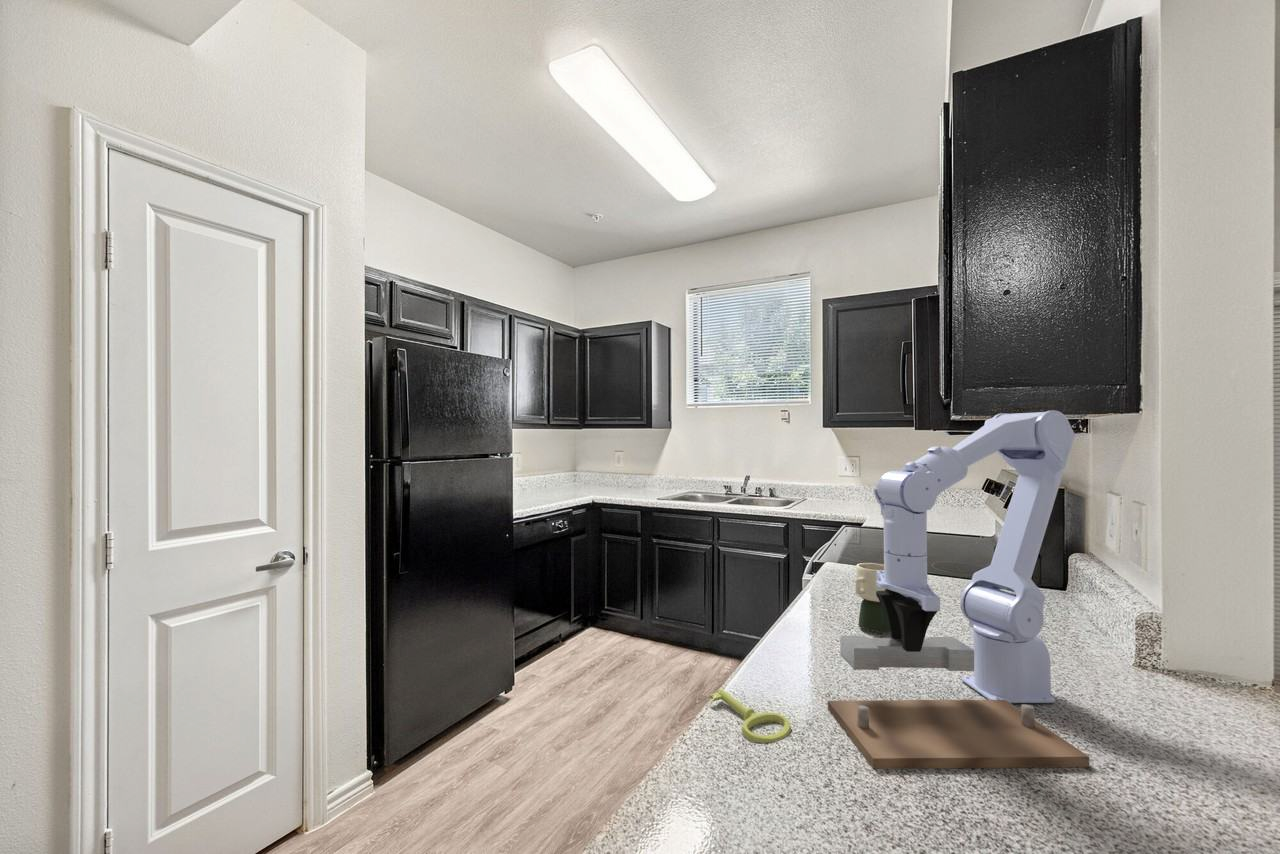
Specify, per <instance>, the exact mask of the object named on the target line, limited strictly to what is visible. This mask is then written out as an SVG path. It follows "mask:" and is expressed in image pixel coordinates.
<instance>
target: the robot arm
mask: <svg viewBox="0 0 1280 854" xmlns="http://www.w3.org/2000/svg"><path fill="white" fill-rule="evenodd" d="M1075 436H1076V435H1075V432H1074V431H1073V428H1072V426H1071V423H1070V422H1069V419H1068V418H1067V416H1066V415H1065V414H1063V413H1062V412H1061V411H1059V410H1047V411H1038V412H1022V413H1021V412H1019V413H1016V412H1015V413H1005V412H1003V413H1002V412H1001V413H998V414H995V415H994V416H993V417H991V418H988V419H985V421H984V425H982V426H981V427H980V428H979V429H977V430H976V431H975V432H972V434H970V435H969V436H967V437H966V438H965V439H963V440H962V441H960V442H959V443H957V444H955V445H954V446H952V447H949V446H944V445H943V446H937V445H936V446H935V445H934V446H930V448H928V449H927V453H926V454H925V455H923V456H922V457H919V458H918V459H916V460H915V461H908V462H907V463H905V464H904V467H903V468H902V469H901V470H890V471H888V472H885V473H884V474H883V475H882V476H881V477H880V479H878V482H877V483H876V487H875V488H874V489H873V492H874V493H873V494H874V497H875V498H874V499H875V500H876V501H877V503H878V504H879V506H880V515H881V516H882V518H883V565H884V571H877V581H876V585H877V586H878V587H880V588H882V589H885V591H876V596H877V597H878V599H879V601H880V603H881V605H882V607H883V610H884V613H885V616H886V619H887V623H888V627H889V632H888V633H889V634H890V638H893V639H902V642H903V646H904V650H905V651H907V652H921V649H922V645H923V642H924V639H926V638H925V637H926V634H927V630H928V628H929V626H930V623H932V621H933V618H934V617H935V616H936V614H938V612H941V597H940V596H939V595H938V594H936V593H935V592H934V590H933V589H932V588H931V586H930V585H929V584H928V544H927V543H928V534H927V533H928V532H927V531H928V530H927V529H928V527H927V523H928V522H927V520H928V519H927V516H928V515H927V511H929V510H930V511H931V509H932V508H933V507H934V505H935V504H936V501H937V500H938V499H937V498H938V496H940V495H941V494H942V493H943V492H945V491H946V490H948V489H949V488H951V487H953V486H954V485H955V484H957V483H958V482H961V481H962V480H964V479H965V478H966V477H967V475H968V469H969V468H968V467H970V466H972V465H973V464H975V463H977V462H979V461H981V460H983V459H985V458H987V457H990V456H991V455H992V454H994V453H998V454H999V455H1000V456H1001V457H1002V459H1003V460H1004V461H1005V462H1006V463H1007V465H1008V466H1009V467H1011V468H1013V469H1015V471H1016V472H1017V474H1018V475H1017V476H1018V477H1017V479H1016V482H1015V486H1014V490H1013V493H1012V495H1011V498H1010V502H1009V505H1008V509H1007V511H1006V514H1005V518H1004V521H1003V524H1002V528H1001V530H1000V534H999V537H998V539H997V543H996V546H995V550H994V553H993V555H992V560H991V563H990V564H989V565H988V566H986V567H984V568H982V569H980V570H978V571H975V572H974V573H973V574H972V577H971V581H970V582H969V584H968V585H967V586H966V587H965V588H964V590H963V591H962V594H961V596H960V610H961V613H962V615H963V616H964V617H965V618H966V619H967V620H969V621H968V626H969V627H970V628H972V635H973V637H972V638H973V640H972V642H973V643H972V645H973V646H972V647H973V648H972V649H974V671H973V676H961V677H960V680H961V681H962V682H963V683H965V684H966V685H968V686H969V687H970V688H972V689H973V690H975V691H976V692H978V694H980V695H981V696H983V697H984V698H986V700H1006V701H1008V702H1009V703H1011V704H1055V703H1056V699H1055V698H1054V697H1053V696H1052V685H1051V684H1052V683H1051V680H1052V678H1051V675H1052V673H1051V671H1052V670H1051V656H1050V652H1049V650H1048V646H1047V645H1046V643H1045V642H1044V641H1043V640H1042V639H1041V637H1040V636H1038V635H1039V634H1040V633H1041V631H1042V629H1043V626H1044V623H1045V622H1044V617H1045V616H1044V603H1045V600H1046V595H1045V594H1044V593H1043V592H1042V590H1041V589H1040V588H1039V587H1038V586H1037V585H1036V584H1035V582H1034V581H1033V580H1032V576H1033V573H1034V570H1035V566H1036V564H1037V559H1038V556H1039V554H1040V550H1041V547H1042V544H1043V540H1044V537H1045V534H1046V531H1047V528H1048V524H1049V521H1050V517H1051V514H1052V511H1053V507H1054V504H1055V501H1056V498H1057V496H1058V491H1059V488H1060V485H1061V481H1062V479H1063V473H1064V469H1066V466H1067V462H1068V459H1069V455H1070V453H1071V450H1072V446H1073V442H1074V440H1075ZM1004 590H1005V591H1004Z"/></svg>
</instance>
